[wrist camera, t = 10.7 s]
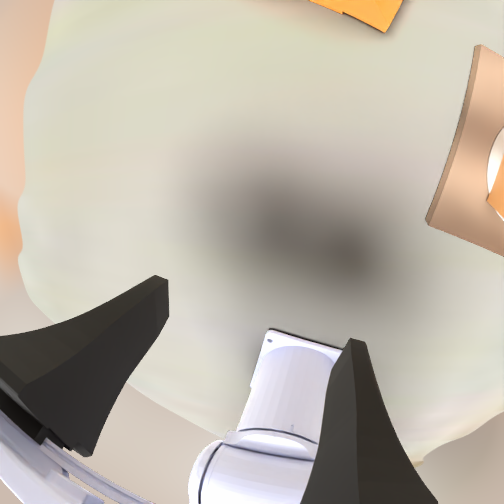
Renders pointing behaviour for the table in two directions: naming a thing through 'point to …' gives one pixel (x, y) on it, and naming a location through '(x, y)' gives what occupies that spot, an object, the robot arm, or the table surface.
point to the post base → (475, 159)
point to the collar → (498, 191)
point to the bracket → (366, 10)
